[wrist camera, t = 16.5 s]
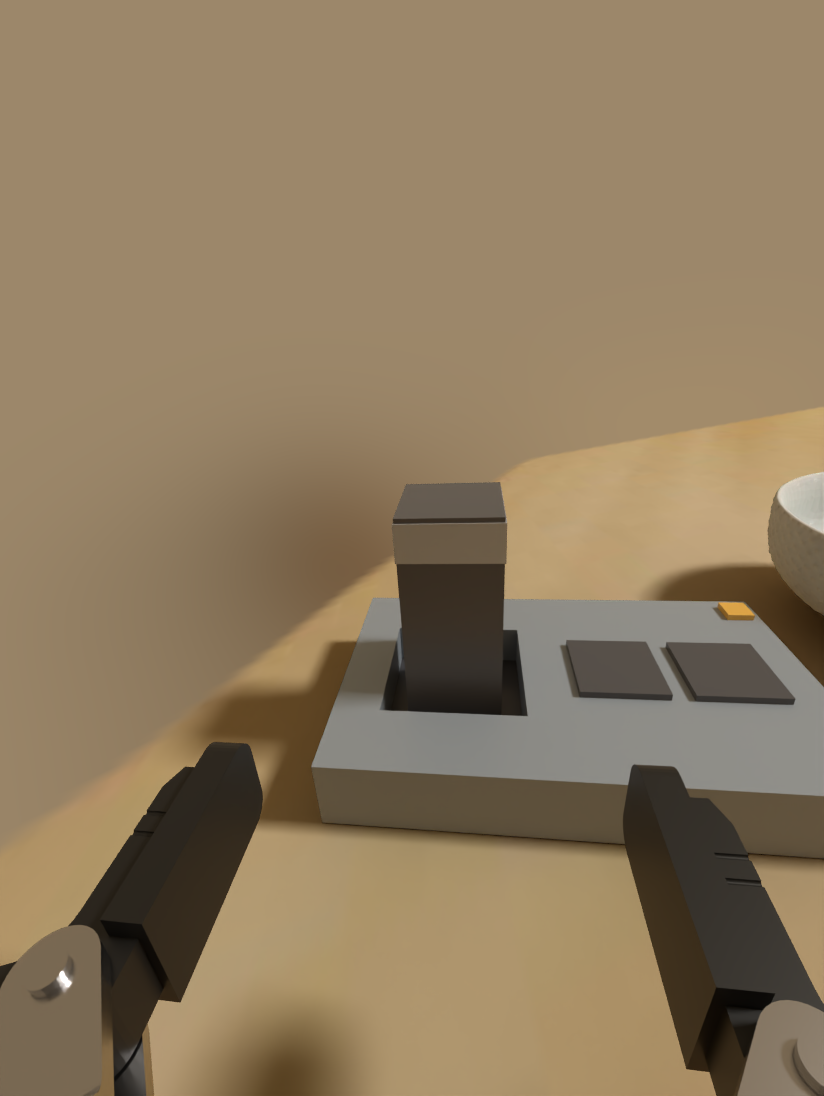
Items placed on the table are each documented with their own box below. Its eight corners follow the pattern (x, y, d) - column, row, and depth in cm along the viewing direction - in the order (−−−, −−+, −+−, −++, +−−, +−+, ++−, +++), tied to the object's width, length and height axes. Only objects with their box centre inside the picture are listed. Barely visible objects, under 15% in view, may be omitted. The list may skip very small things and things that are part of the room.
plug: (497, 671, 25) (501, 482, 21) (502, 732, 22) (507, 517, 17) (417, 669, 26) (405, 484, 22) (408, 729, 22) (391, 519, 18)
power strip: (732, 648, 28) (746, 596, 26) (896, 863, 17) (933, 795, 15) (377, 640, 30) (372, 593, 29) (322, 822, 19) (309, 760, 18)
